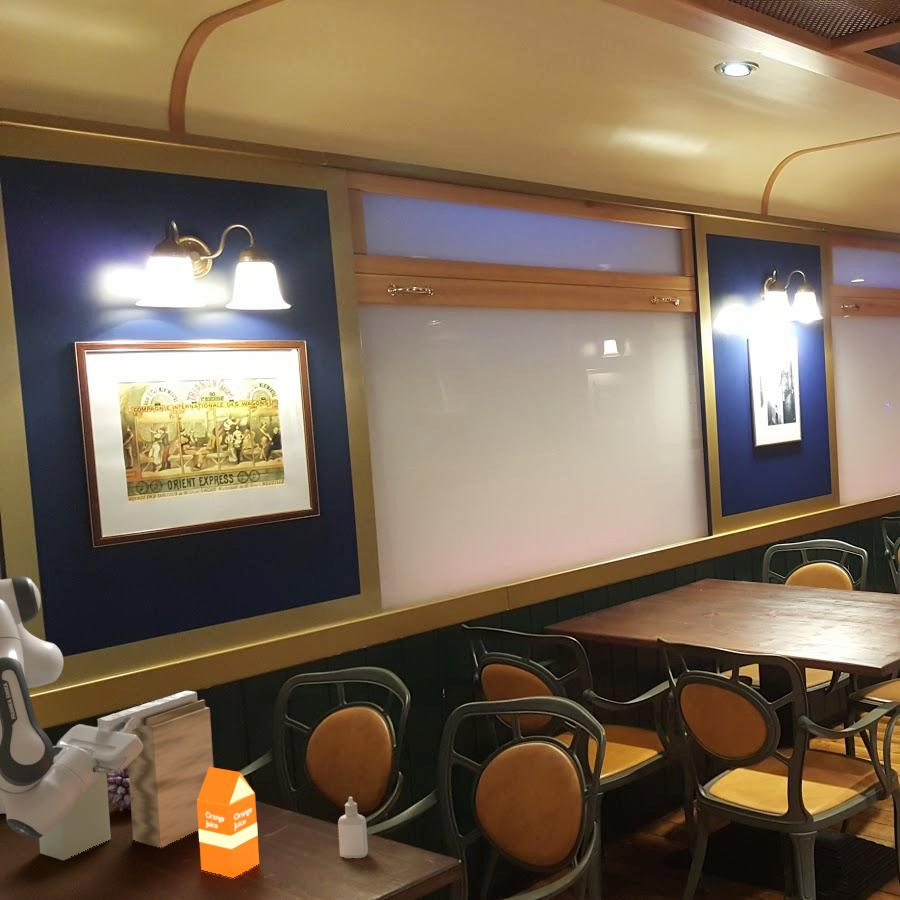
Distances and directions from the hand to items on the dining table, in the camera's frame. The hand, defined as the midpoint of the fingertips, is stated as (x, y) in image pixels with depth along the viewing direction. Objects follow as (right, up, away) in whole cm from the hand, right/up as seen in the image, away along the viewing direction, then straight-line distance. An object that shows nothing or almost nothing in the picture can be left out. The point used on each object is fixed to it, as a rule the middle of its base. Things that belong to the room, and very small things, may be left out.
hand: (126, 718), depth 221 cm
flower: (-7, -28, +25) cm, 38 cm away
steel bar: (+4, -2, +5) cm, 7 cm away
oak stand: (+8, -28, +10) cm, 30 cm away
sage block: (-12, -29, +4) cm, 32 cm away
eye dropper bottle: (+49, -26, -8) cm, 56 cm away
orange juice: (+24, -27, -11) cm, 38 cm away
